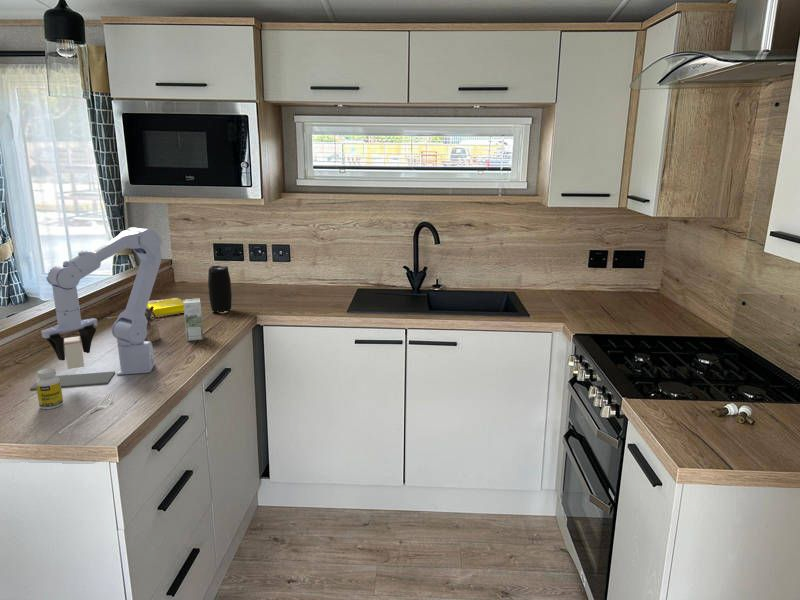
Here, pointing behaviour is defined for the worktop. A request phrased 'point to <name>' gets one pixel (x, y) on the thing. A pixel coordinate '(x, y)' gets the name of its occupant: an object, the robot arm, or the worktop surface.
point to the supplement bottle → (49, 389)
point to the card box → (73, 352)
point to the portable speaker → (219, 288)
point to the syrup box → (193, 319)
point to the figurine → (151, 326)
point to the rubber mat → (83, 379)
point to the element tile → (166, 306)
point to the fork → (93, 410)
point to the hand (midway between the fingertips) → (74, 355)
